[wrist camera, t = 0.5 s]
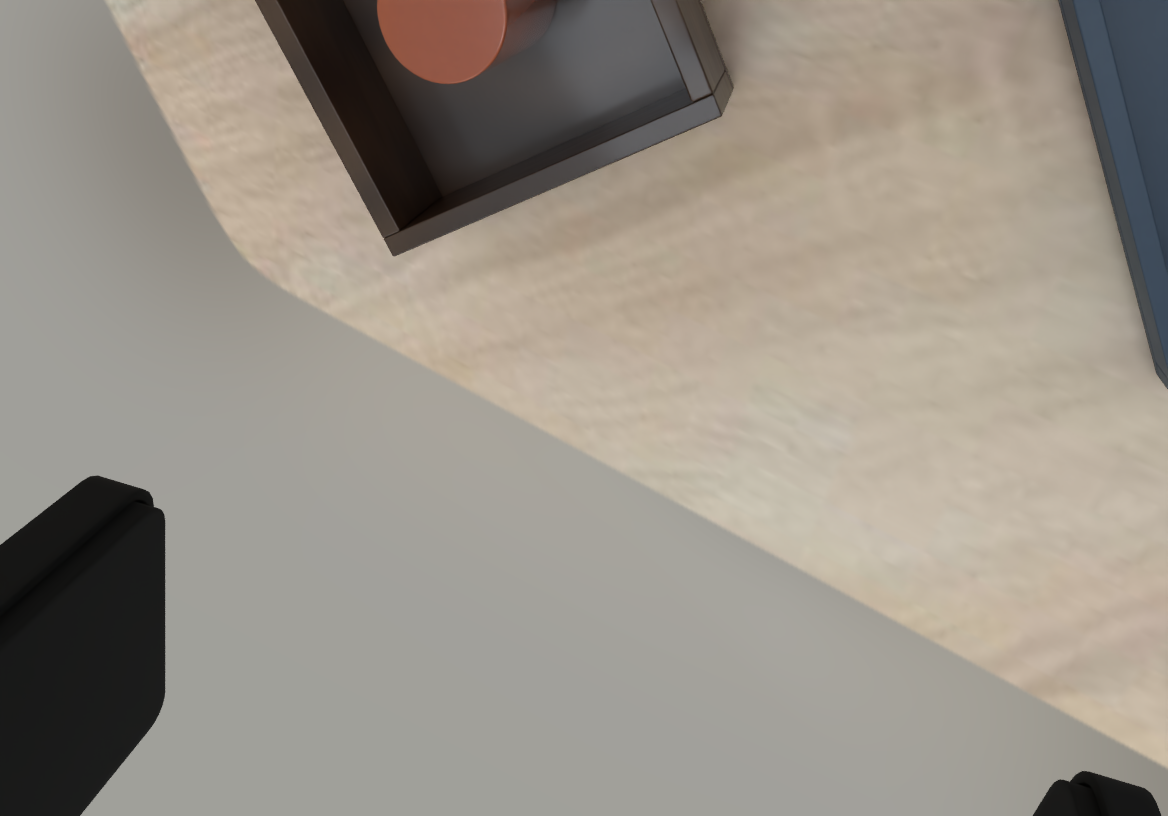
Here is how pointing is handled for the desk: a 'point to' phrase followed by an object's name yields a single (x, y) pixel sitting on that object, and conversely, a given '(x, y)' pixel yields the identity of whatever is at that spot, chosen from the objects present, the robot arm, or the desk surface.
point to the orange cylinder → (461, 34)
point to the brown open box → (499, 105)
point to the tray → (1131, 137)
